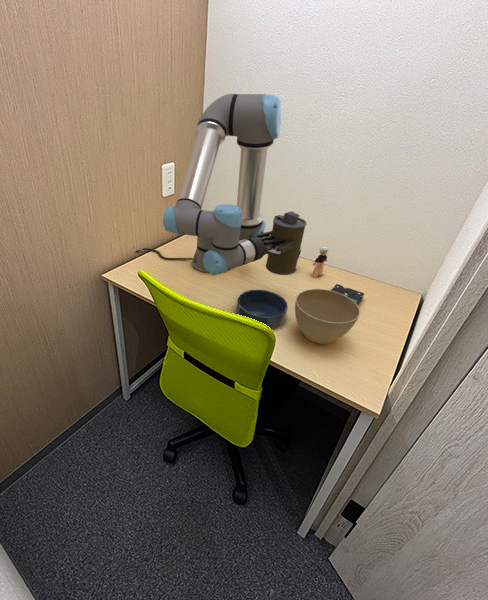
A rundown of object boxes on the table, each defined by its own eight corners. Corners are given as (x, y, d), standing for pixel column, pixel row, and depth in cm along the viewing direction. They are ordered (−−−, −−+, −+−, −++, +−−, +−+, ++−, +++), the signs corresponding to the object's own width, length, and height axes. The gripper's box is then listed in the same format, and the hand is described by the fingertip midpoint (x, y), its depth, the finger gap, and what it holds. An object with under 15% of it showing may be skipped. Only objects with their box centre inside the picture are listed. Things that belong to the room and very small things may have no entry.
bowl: (229, 320, 114) (230, 308, 111) (244, 296, 126) (246, 285, 123) (278, 335, 107) (281, 323, 104) (289, 308, 119) (292, 297, 117)
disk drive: (333, 289, 130) (320, 306, 121) (335, 283, 129) (322, 299, 119) (362, 299, 125) (350, 317, 115) (364, 292, 123) (352, 310, 114)
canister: (302, 270, 118) (315, 214, 106) (281, 278, 113) (293, 221, 102) (278, 258, 125) (288, 205, 114) (258, 265, 120) (266, 211, 109)
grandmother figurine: (316, 279, 136) (324, 251, 129) (308, 276, 138) (315, 248, 131) (326, 273, 140) (334, 245, 133) (317, 270, 143) (325, 242, 135)
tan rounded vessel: (357, 335, 107) (369, 304, 101) (332, 364, 97) (344, 331, 90) (305, 311, 118) (313, 282, 111) (277, 335, 107) (284, 304, 101)
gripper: (229, 252, 111) (278, 236, 122) (264, 271, 101) (313, 251, 112) (232, 231, 107) (281, 216, 118) (268, 248, 97) (319, 230, 108)
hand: (297, 233), depth 115 cm, fingers closed on canister, 2 cm apart
